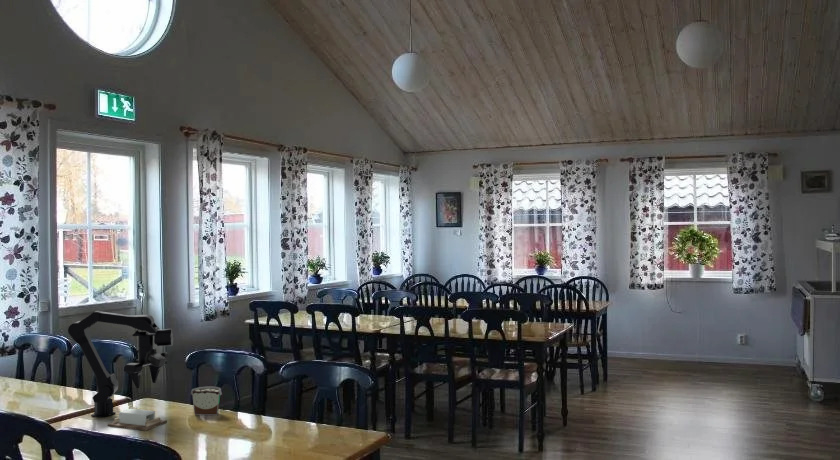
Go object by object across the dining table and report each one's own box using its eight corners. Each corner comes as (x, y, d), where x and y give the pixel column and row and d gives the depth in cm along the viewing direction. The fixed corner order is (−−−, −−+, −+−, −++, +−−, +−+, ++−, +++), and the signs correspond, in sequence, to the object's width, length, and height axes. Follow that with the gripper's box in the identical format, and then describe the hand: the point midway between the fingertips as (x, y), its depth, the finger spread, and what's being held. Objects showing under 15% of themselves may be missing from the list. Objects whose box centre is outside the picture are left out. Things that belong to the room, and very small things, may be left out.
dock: (107, 426, 257) (107, 419, 257) (128, 418, 267) (128, 412, 267) (146, 430, 251) (146, 424, 251) (166, 422, 261) (166, 416, 261)
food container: (226, 411, 277) (226, 386, 277) (220, 415, 271) (220, 390, 271) (197, 410, 278) (197, 385, 278) (190, 414, 272) (190, 389, 272)
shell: (119, 422, 259) (119, 412, 259) (129, 418, 264) (129, 408, 264) (145, 425, 255) (144, 414, 255) (155, 421, 260) (155, 411, 260)
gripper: (145, 352, 263) (145, 392, 263) (177, 343, 281) (178, 381, 281) (122, 350, 267) (122, 390, 267) (155, 342, 285) (156, 379, 285)
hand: (146, 385), depth 275 cm, fingers open, 9 cm apart
